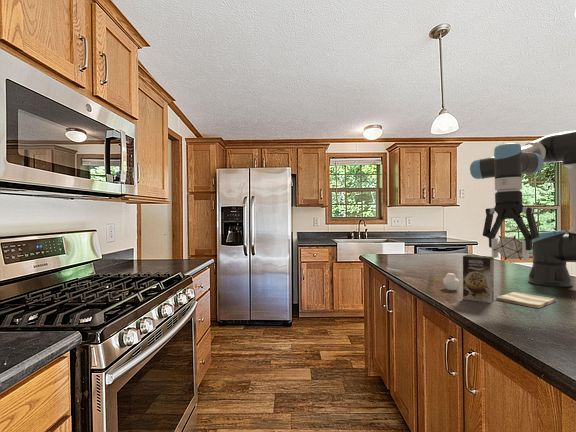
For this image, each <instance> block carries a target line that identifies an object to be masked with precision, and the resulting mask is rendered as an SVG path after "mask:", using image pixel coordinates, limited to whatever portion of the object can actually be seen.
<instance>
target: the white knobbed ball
mask: <svg viewBox="0 0 576 432" xmlns="http://www.w3.org/2000/svg"><path fill="white" fill-rule="evenodd" d="M442 283H443V285H444V287H445V288H446V290H448V291H456V290H457V288H458V286H459V283H460V280H459V279H458V277H456V273H452V272H448V273H446V275H445V277H444V278H443V279H442Z"/></svg>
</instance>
